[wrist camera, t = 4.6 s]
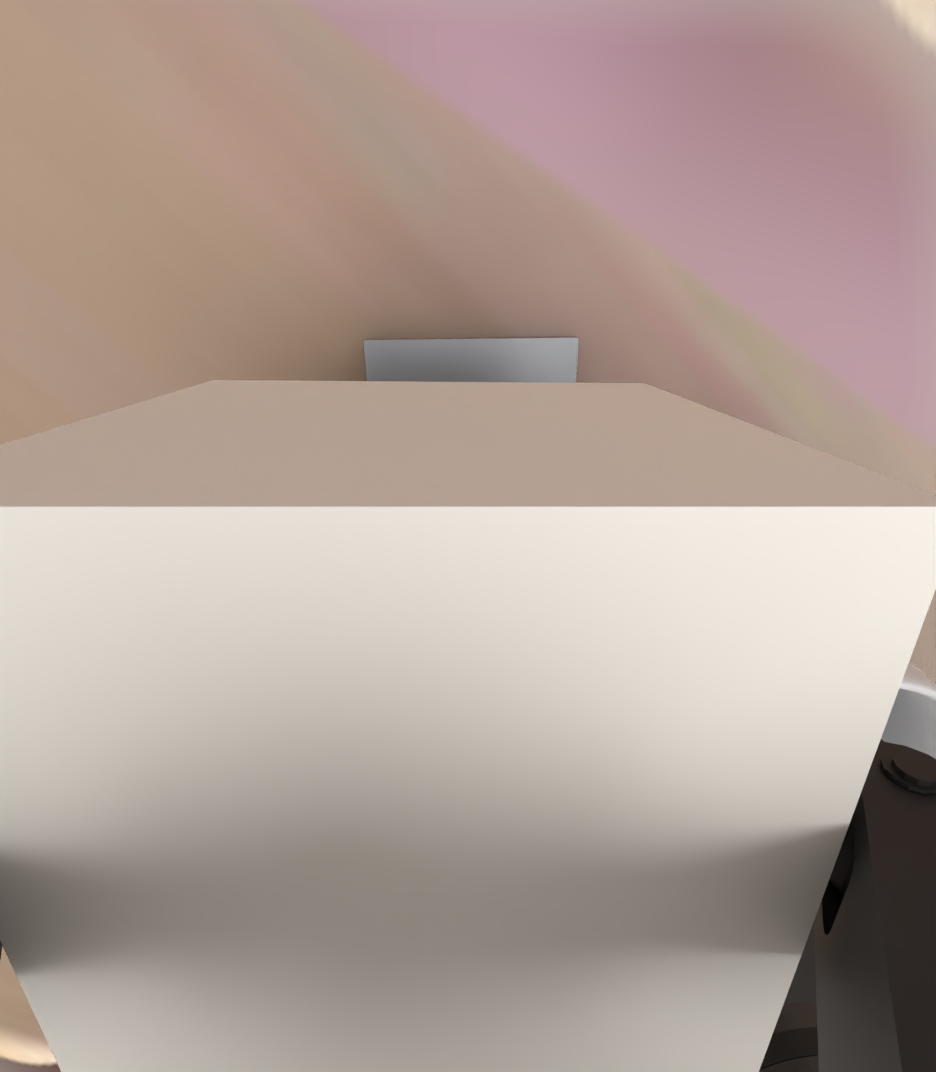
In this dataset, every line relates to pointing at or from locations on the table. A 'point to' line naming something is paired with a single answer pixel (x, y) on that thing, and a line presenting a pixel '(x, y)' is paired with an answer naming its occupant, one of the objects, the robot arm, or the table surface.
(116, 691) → the block
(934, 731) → the mug
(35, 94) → the table surface
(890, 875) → the robot arm
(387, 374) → the tile
